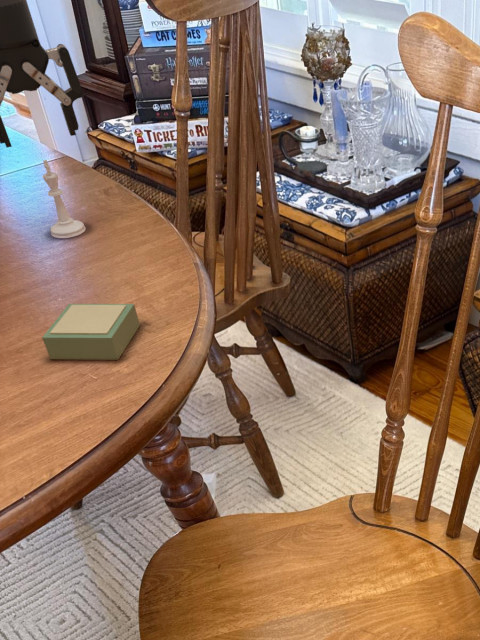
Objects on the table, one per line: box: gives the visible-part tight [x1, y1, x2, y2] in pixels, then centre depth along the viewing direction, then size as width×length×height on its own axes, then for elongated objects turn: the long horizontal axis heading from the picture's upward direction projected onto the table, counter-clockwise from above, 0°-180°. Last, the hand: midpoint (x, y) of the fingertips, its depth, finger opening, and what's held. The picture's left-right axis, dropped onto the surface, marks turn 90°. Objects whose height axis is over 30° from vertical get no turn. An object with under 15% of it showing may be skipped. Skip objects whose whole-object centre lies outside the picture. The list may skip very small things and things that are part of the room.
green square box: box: [41, 303, 141, 361], centre depth 90 cm, size 8×8×3 cm
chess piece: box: [42, 159, 86, 239], centre depth 112 cm, size 5×5×10 cm
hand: (40, 140), depth 107 cm, fingers open, 8 cm apart
